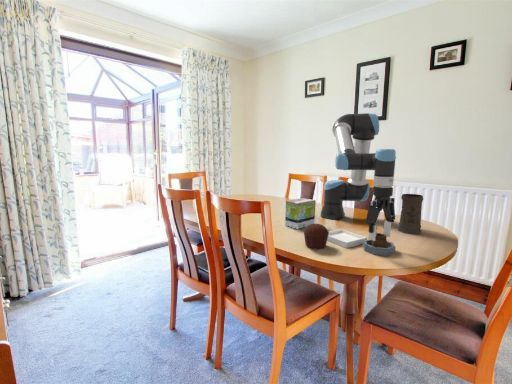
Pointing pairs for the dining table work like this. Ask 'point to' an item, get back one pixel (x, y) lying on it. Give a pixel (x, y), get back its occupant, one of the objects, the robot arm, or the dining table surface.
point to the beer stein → (411, 214)
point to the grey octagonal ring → (379, 251)
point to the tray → (345, 238)
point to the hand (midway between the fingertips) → (379, 237)
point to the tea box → (300, 213)
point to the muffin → (316, 236)
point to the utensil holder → (380, 240)
